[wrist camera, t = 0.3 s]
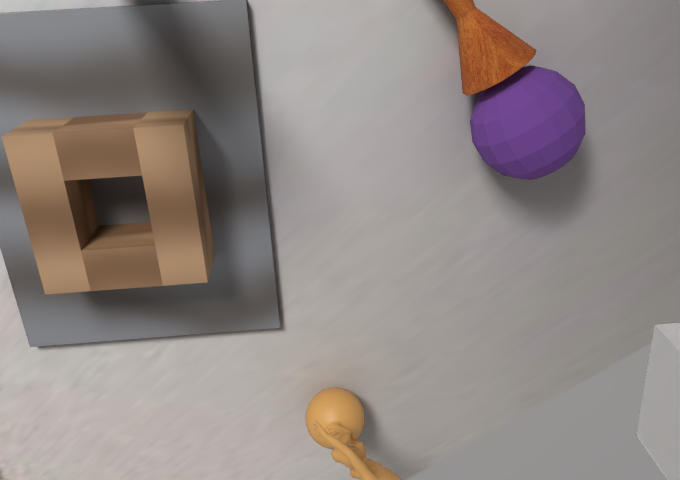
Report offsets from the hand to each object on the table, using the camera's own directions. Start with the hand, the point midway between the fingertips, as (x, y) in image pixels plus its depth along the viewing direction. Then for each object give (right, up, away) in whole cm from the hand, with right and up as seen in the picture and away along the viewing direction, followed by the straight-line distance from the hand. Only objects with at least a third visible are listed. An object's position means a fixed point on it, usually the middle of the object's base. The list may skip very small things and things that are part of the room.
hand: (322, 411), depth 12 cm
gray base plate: (-12, +6, +25) cm, 28 cm away
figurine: (+1, -7, +32) cm, 33 cm away
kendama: (+6, +16, +22) cm, 28 cm away
